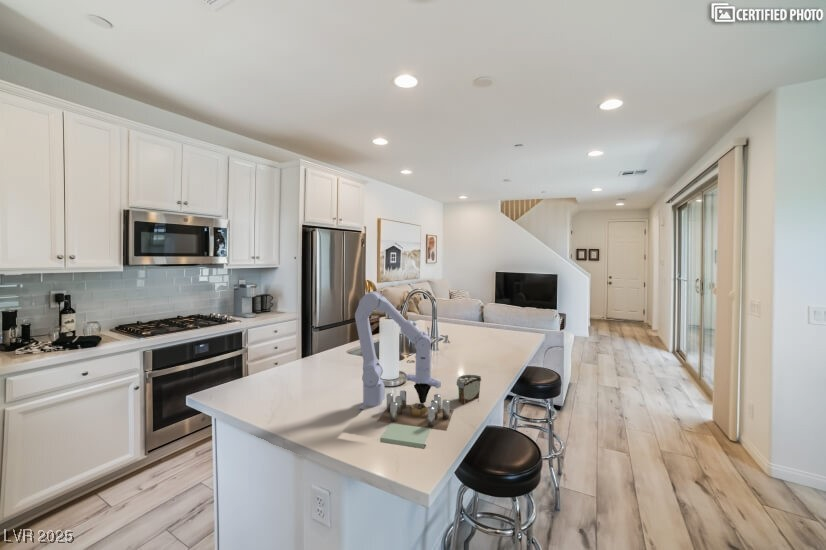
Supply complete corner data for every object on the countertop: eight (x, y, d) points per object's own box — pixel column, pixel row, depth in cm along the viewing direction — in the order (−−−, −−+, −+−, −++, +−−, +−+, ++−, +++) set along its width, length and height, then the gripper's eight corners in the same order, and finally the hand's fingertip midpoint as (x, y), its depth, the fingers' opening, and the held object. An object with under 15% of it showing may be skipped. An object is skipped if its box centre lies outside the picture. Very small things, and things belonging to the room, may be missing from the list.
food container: (468, 395, 146) (468, 372, 146) (480, 400, 142) (481, 375, 141) (449, 404, 138) (450, 379, 137) (462, 409, 133) (462, 383, 133)
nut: (408, 415, 125) (408, 407, 124) (412, 409, 129) (412, 402, 129) (424, 417, 123) (424, 409, 123) (427, 411, 128) (427, 404, 128)
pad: (390, 427, 118) (390, 423, 118) (431, 433, 115) (431, 428, 115) (380, 442, 109) (380, 437, 109) (424, 449, 105) (424, 444, 105)
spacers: (391, 404, 133) (391, 389, 133) (451, 412, 127) (451, 395, 127) (378, 420, 120) (378, 403, 120) (445, 429, 114) (445, 411, 114)
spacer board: (391, 406, 135) (391, 402, 135) (453, 414, 129) (453, 410, 129) (376, 425, 120) (376, 421, 120) (446, 435, 114) (446, 430, 114)
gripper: (401, 366, 134) (401, 401, 134) (434, 373, 125) (433, 411, 126) (412, 361, 139) (411, 395, 140) (443, 368, 131) (443, 404, 132)
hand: (422, 402), depth 133 cm, fingers closed
